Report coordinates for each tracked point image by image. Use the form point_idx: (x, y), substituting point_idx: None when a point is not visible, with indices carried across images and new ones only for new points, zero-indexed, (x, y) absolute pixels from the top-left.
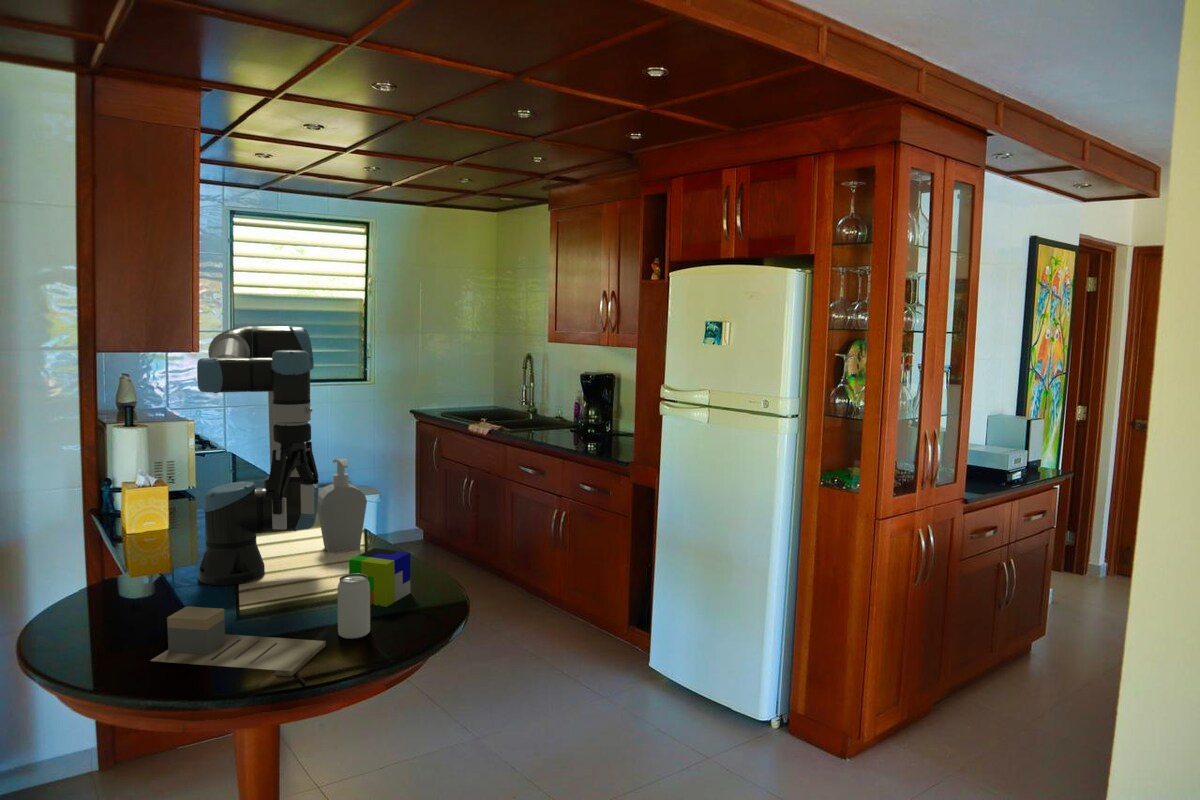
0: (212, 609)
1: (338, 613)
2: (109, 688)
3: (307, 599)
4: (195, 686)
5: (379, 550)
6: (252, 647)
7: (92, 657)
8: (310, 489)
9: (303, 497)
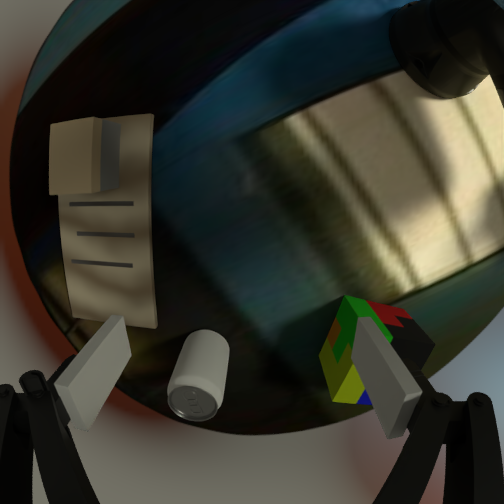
0: (85, 173)
1: (183, 352)
2: (20, 128)
3: (349, 220)
4: (33, 219)
5: (419, 358)
6: (112, 237)
7: (85, 39)
8: (382, 419)
9: (378, 366)
